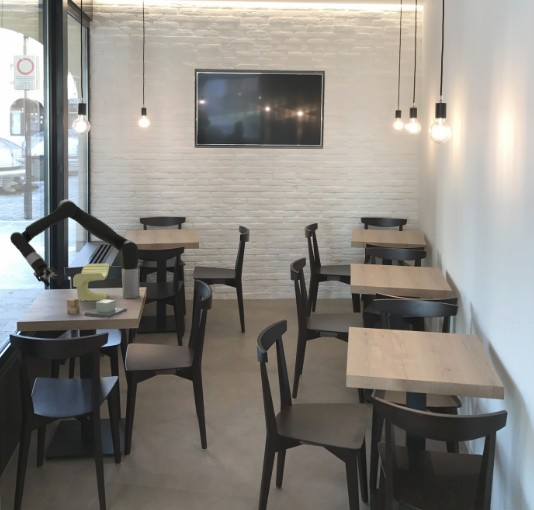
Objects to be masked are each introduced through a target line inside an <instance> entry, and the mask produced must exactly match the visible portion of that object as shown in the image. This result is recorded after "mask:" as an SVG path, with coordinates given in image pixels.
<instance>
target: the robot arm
mask: <svg viewBox="0 0 534 510" xmlns="http://www.w3.org/2000/svg"><path fill="white" fill-rule="evenodd" d="M57 206H58V207H57V208H56V209H55V210H54V211H52V212H51V213H49V214H47V215H45V216H43V217H40V218H38V219H37V220H35V221H34V222H32V223H30V224H29V225H27V226H26V227H25V229H24V231H23V232H19V231H15V232H13V233H11V235H10V239H9V240H10V242H11V243H12V244H13V246H14V247H15V248H16V249H17V250H18V251H19V253H20V254H21V255H22V256H23V258H24V259H25V261H26V262H27V263H28V265H29V266H30V267H31V268H32V270H33V271H34V272H33V276H34V277H35V278H36V279H37V281H38V282H39V283H41V282H42V283H43V284H44V285H45V286H46V287H50V286H51V283H50V282H49V281H48V279H47V277H49V278H52V279H53V280H54V281H55V282H56V283H57V284H59V285H60V283H61V282H62V281H61V279H60V278H59V272H58V271H57V270H56V269H55V268H54V267H53V266H50V267H49V266H48V264H47V262H46V261H45V260H44V258H43V257H42V256H41V254H40V253H38V251H36V248H35V247H33V246H32V245H31V244H30V242H31V241H32V240H33V239H34V238H36V237H37V236H38V235H40V234H42V233H43V232H44V231H46V230H48V229H49V228H51V227H52V226H54V225H56V224H58V223H59V222H62V221H63V220H66V219H68V218H69V219H71V220H74V221H75V222H76V223H77V224H79V225H80V226H81V227H82V228H83V229H84V230H86V232H88V233H90V234H91V235H92V236H93V237H95V238H97V239H99V240H100V241H103V242H105V243H107V244H109V245H111V246H112V247H114V248H115V249H116V250H117V251H119V252H120V253H121V254H122V255H121V256H122V257H121V258H122V263H121V281H122V282H121V283H122V297H124V298H123V299H136V298H140V296H141V294H140V280H139V266H138V265H139V248H138V245H137V244H136V243H135V242H133V241H132V240H130V239H127V238H125V237H123V236H122V235H120V234H118V233H117V232H116V231H115V230H114V229H112V227H111V226H109V225H108V224H107V223H105V222H104V221H102V220H101V219H99V218H97V217H96V216H94V215H91V213H88V212H86V211H84V210H83V209H81V208H80V207H79V206H78V205H77V204H76V203H75V202H73V200H70V199H63V200H60V202H59V203H58V205H57Z"/></svg>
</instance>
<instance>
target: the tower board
mask: <svg viewBox="0 0 534 510" xmlns="http://www.w3.org/2000/svg"><path fill="white" fill-rule="evenodd" d="M95 305H96V306H95V308H93V309H90V310H88V311H85V312H84V315H83V316H86V315H91V316H90V317H95V316H98V317H97V318H104V317H108V318H107V319H111V318H113V316H114V317H116V316H118V314H119V315H122V314H123V312H124V313H126V312H128V308H127V307H116V301H115V299H103V300H100V301H95ZM115 315H116V316H115ZM110 317H111V318H110Z"/></svg>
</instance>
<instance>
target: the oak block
mask: <svg viewBox="0 0 534 510" xmlns="http://www.w3.org/2000/svg"><path fill="white" fill-rule="evenodd" d="M77 312H79V313H80V299H79V298H73V297H71V298H68V299H66V313H67V314H68V313H76V314H78V313H77Z"/></svg>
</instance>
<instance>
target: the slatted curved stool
mask: <svg viewBox="0 0 534 510" xmlns="http://www.w3.org/2000/svg"><path fill="white" fill-rule="evenodd" d="M109 271H110V263H87V264H85V265H84V266H83V267H82V270H81V272H80V273H76V274H75V275H74V276H73V279H72V282H73V283H72V284H73V287H76V295H77V297H78V298H77V299H79V301H82V302H85V301H84V300H103V299H106V298H107V299H108V297H109V296H108V295H109V292H95V291H92V290H90V289H89V287H88V286H89V283H90V282H94V281H104V280H106V279H107V277H108V275H109ZM107 296H108V297H107ZM107 299H106V300H107Z"/></svg>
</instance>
